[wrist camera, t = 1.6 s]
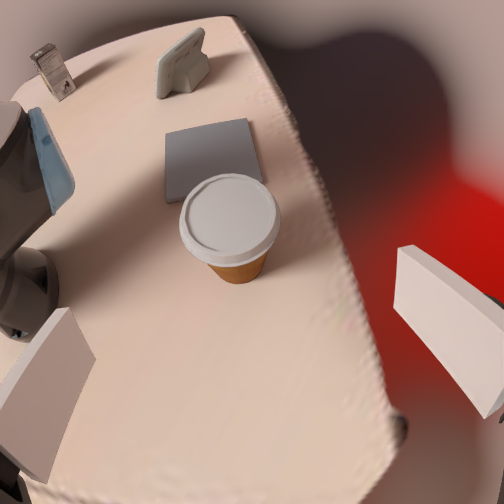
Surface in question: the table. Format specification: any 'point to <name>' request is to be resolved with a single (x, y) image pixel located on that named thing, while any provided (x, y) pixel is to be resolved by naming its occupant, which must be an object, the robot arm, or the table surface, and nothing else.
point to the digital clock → (182, 65)
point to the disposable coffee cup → (230, 225)
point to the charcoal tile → (208, 156)
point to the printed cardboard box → (53, 71)
